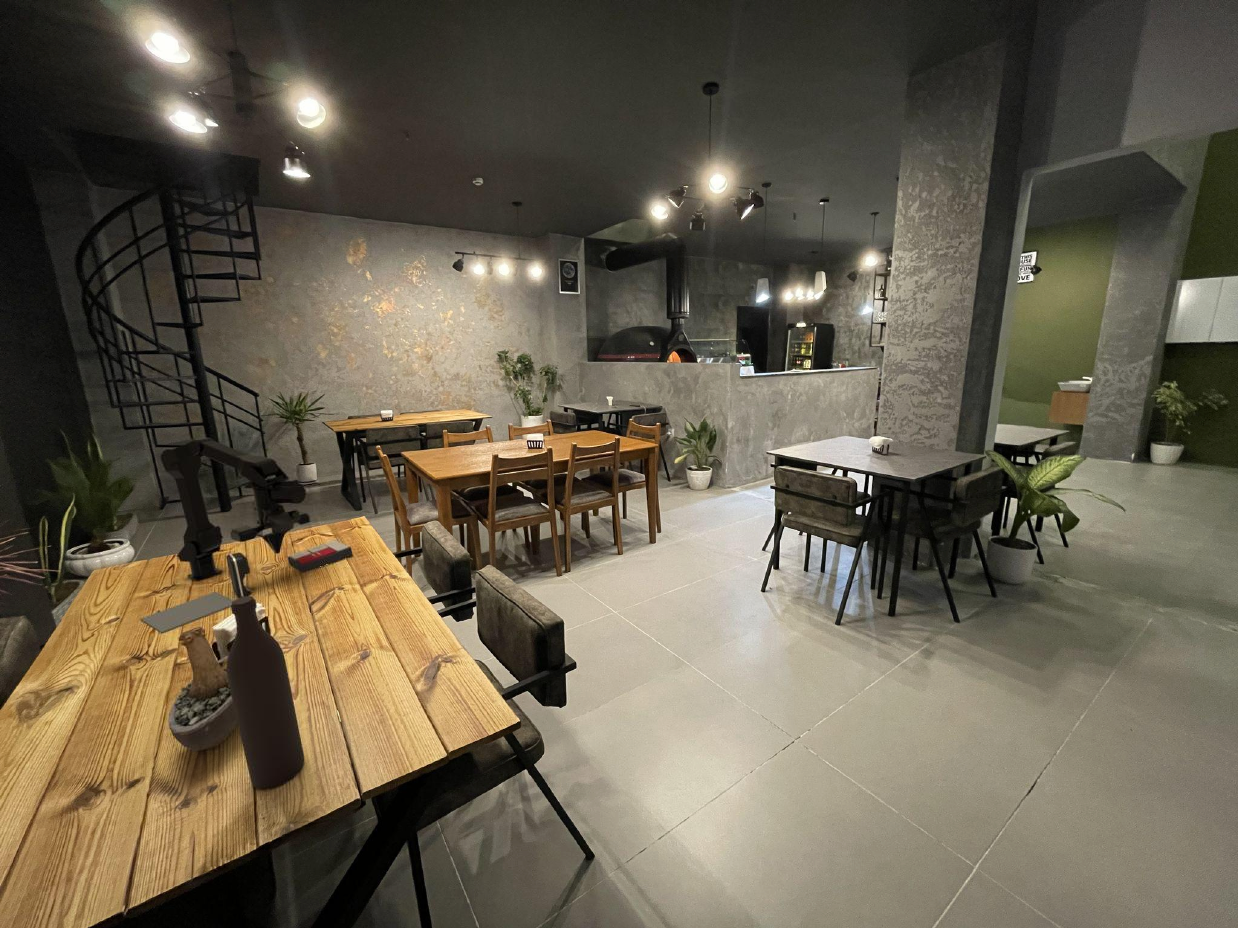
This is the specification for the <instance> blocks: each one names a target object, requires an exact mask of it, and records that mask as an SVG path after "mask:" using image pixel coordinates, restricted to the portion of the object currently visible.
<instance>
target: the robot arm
mask: <svg viewBox="0 0 1238 928" xmlns="http://www.w3.org/2000/svg"><path fill="white" fill-rule="evenodd" d="M203 457H207V458H209V459H212V460H213V461H216V462H218V463H220V464H223V465H226V466H228V467H230V468H232V469H235V470H236V471H238V473H239V475H240V476H241V477H242V478H245V479H246V480H248V481H249V482H248V483H247V484H246V485H245V486H244V488H245V489H250V490H251V489H252V493H253V498H254V503H255V506H254V507H253V509H254V511H255V512H256V513H257V518H258V519H257V520H256V524H257V526H249V525H243V526H239V527H236V528H232V529H231V531H230V538H231V540H234V541H236V542H239V543H243V542H244V543H245V542H247V541H251V540H254V539H256V538H257V537H260V538H262V539H263V541H265V543H267V545H268V546H269V547H270V549H271V550H272V552H273V553H274V554H280V553H281V549H282V545H283V541H284V537H285V535H286V534H287V533H288V532H290V531H291V530H293V529H294V528H295V527H294V526H295V525H294V524H299V525H301V526H303V525H304V524H305V525H306V524H308V523H310V522H311V516H310V514H309V513H307V512H305V511H300V510H298V509H294V510H293V509H292V510H290V511H287V512H286V511H285V508H284V506H283V504H291V505H292V504H294V505H295V504H301V503H303V501H304V500H305V498H306V495H307V489H306V488H305V486H304V485H303V484H302V483H299V480H298V479H290V478H289V476H288V475H287V474H286V472H285V471H283V470H282V468H281V467H280V466H279V465H278V464H277V461H276V460H275V459H273V458H271V457H267V456H261V455H252V454H251V455H250V454H247V453H244V452H242V451H240V450H237V449H235V448H233V447H231V446H227V445H226V444H222V443H220V442H217V441H215V440H214V439H213V438H211V437H204V438H197V439H193V440H191V441H190V442H188V443H185V444H183V445H180V446H178V447H171V448H168V449H165V450H163V451H162V453H161V454H160V461H161V463H162V466H163V468H164V470H165V472H166V473H167V474H169V476H171V477H172V478H173V479H174V480H175V482H176V488H177V491H178V496H179V498H180V502H181V505H182V506H181V507H182V510H183V514H184V518H185V521H186V526H187V527H186V529H185V532H184V534H183V545H184V546H183V547H182V548H181V550H180V551H179V552H178V553H177V558H178V560H179V561H180V562H181V563H182V562H183V563H188V564H189V568H190V574H187V578H189V579H191V580H194V581H195V582H198V581H201V580H204V579H207V578H210V577H213V576H216V575H219V574H222V573H223V571H222V570H221V569H218V568H217V566H216V562H215V558H214V554H215V553H217V552H220V551H221V545H222V544H223V538H224V536H223V535H222V532H221V531H222V529H221V527H220V525H214V524H213V523H211V522H210V519H209V516H208V511H207V508H206V504H205V499H204V496H203V492H202V488H201V484H200V481H199V476H198V475H199V473H200V470H201V467H202V465H203V463H202V458H203Z"/></svg>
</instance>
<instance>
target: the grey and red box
mask: <svg viewBox="0 0 1238 928" xmlns="http://www.w3.org/2000/svg"><path fill="white" fill-rule="evenodd" d="M352 549H353V548H352V547H351V546H349V545H347V544H345V543H343V542H341V541H339V540H331V541H328V542H326V543H324V544H323V543H322V544H318V545H314V546H313V547H309V548H307V549H304V550H301V551H298V552H295V553H293V554H292V553H291V554H289V555H288V557H287V561H288V565H289V564H290V565H291V566H290V565H289V566H290V567H292V568H294V569H296V570H297V571H299V572H300V573H302V572H303V573H302V574H305V573H307V571H308V572H311V571H313V570H312V569H314V570H316V569H315V568H317V569H320V568H321V567H320V566H323V567H325V566H324V565H326V564H329V565H331V564H330V563H332V564H334V563H336V562H335V561H337V562H339V561H338V560H342V561H344V560H343V559H345V558H348V559H350V557H351V558H353V557H354V555H353V554H354V553H353V550H352ZM345 560H346V559H345ZM326 566H327V565H326ZM319 567H320V568H319ZM310 570H311V571H310ZM304 572H305V573H304Z"/></svg>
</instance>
